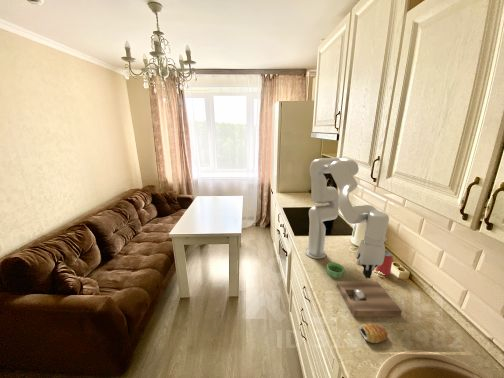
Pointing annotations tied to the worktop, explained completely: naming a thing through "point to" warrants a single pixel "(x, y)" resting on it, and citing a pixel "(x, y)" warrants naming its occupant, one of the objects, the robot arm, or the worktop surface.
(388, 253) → the beer can
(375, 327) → the pastry
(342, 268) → the ramekin
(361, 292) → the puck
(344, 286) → the wooden board with recess
